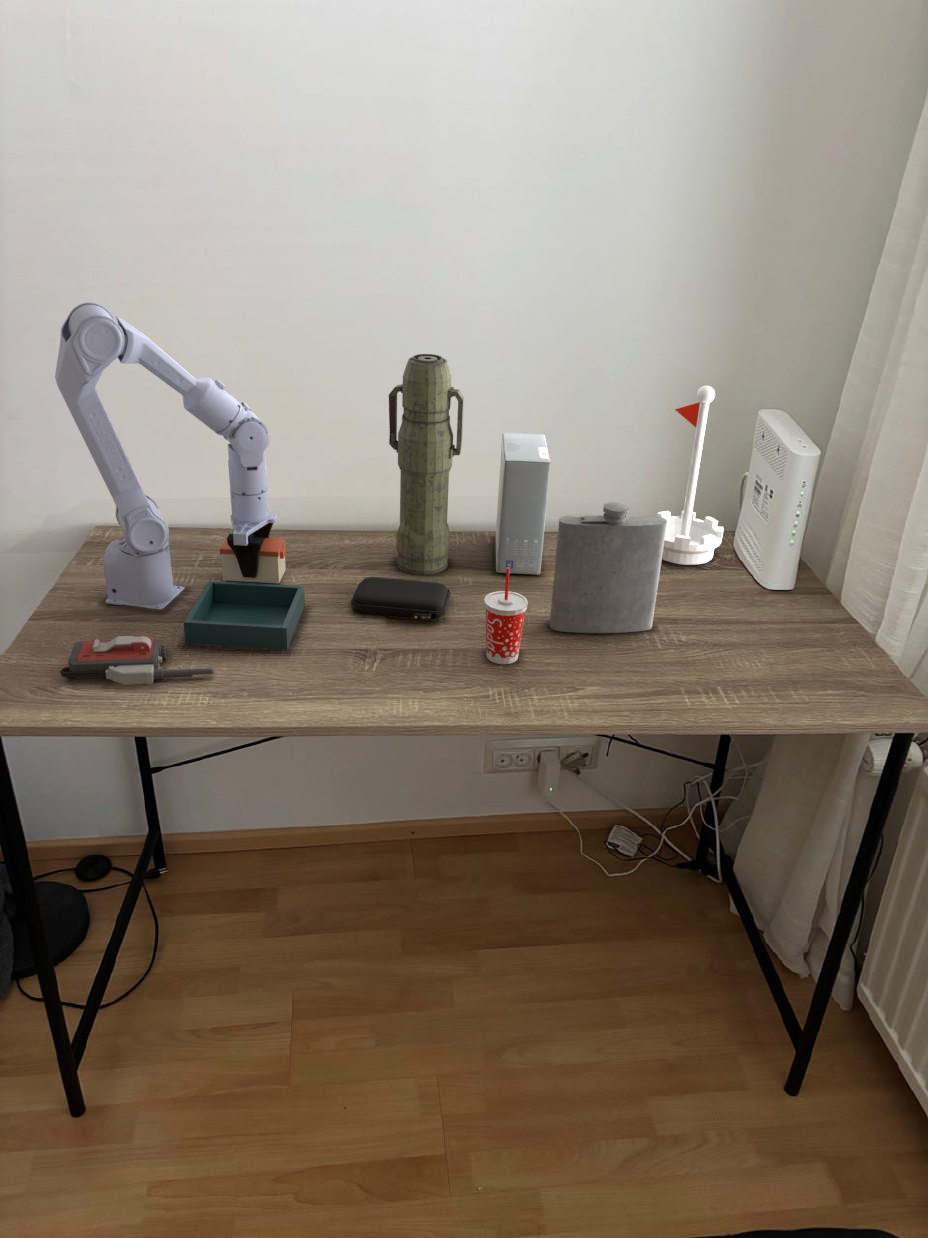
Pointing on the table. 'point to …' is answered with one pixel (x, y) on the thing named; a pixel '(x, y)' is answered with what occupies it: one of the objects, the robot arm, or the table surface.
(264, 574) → the lunchbox
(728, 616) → the table surface
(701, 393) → the flag stand
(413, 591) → the carrying case
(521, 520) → the hard drive box
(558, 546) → the hip flask
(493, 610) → the beverage cup
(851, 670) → the table surface
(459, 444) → the thermos
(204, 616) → the tray
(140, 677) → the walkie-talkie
